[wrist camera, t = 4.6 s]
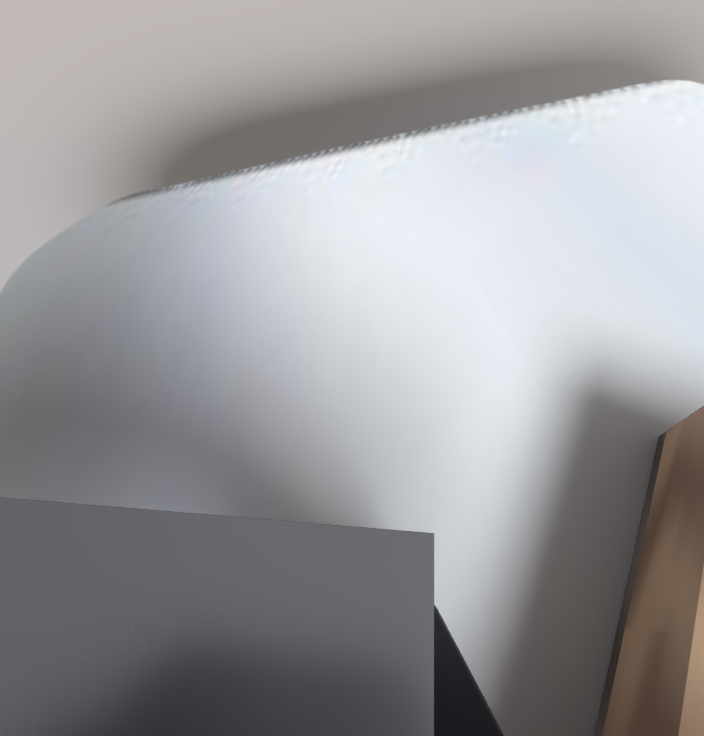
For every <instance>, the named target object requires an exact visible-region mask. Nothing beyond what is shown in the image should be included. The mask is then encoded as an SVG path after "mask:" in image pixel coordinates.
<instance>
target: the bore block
mask: <svg viewBox="0 0 704 736" xmlns="http://www.w3.org/2000/svg"><path fill="white" fill-rule="evenodd" d="M594 736H704V406H703V407H702V408H700V409H699V410H697V411H696V412H694V413H693V414H691V415H690V416H688V417H687V418H686V419H684V420H683V421H681V422H680V423H678V424H677V425H675V426H674V427H672V428H671V429H670V430H668V431H667V432H665V433H664V434H662V435H661V436H659V440H658V445H657V449H656V454H655V458H654V463H653V468H652V472H651V477H650V482H649V486H648V491H647V495H646V500H645V505H644V509H643V514H642V518H641V523H640V528H639V532H638V537H637V541H636V546H635V551H634V555H633V560H632V564H631V569H630V574H629V578H628V583H627V588H626V592H625V597H624V601H623V606H622V611H621V615H620V620H619V624H618V629H617V634H616V638H615V643H614V647H613V652H612V657H611V661H610V666H609V671H608V675H607V680H606V684H605V689H604V694H603V698H602V703H601V707H600V712H599V717H598V721H597V726H596V730H595V735H594Z"/></svg>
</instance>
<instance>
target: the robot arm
mask: <svg viewBox="0 0 704 736" xmlns="http://www.w3.org/2000/svg"><path fill="white" fill-rule="evenodd" d="M434 736H504V734H503V732H502V730H501V729H500V727H499V725H498V723H497V721H496V719H495V717H494V715H493V713H492V712H491V710H490V708H489V706H488V704H487V702H486V700H485V698H484V696H483V694H482V693H481V691H480V689H479V687H478V685H477V683H476V681H475V679H474V677H473V675H472V674H471V672H470V670H469V668H468V666H467V664H466V662H465V660H464V658H463V656H462V655H461V653H460V651H459V649H458V647H457V645H456V643H455V641H454V639H453V637H452V636H451V634H450V632H449V630H448V628H447V626H446V624H445V622H444V620H443V619H442V617H441V615H440V613H439V611H438V609H437V607H436V606H435V605H434Z"/></svg>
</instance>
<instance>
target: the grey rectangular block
mask: <svg viewBox="0 0 704 736" xmlns="http://www.w3.org/2000/svg"><path fill="white" fill-rule="evenodd" d="M0 736H434V533H423V532H411V531H399V530H387V529H375V528H363V527H351V526H339V525H327V524H315V523H303V522H291V521H279V520H267V519H255V518H242V517H230V516H218V515H206V514H194V513H182V512H170V511H158V510H146V509H134V508H122V507H110V506H98V505H86V504H74V503H62V502H50V501H38V500H26V499H14V498H2V497H0Z"/></svg>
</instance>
